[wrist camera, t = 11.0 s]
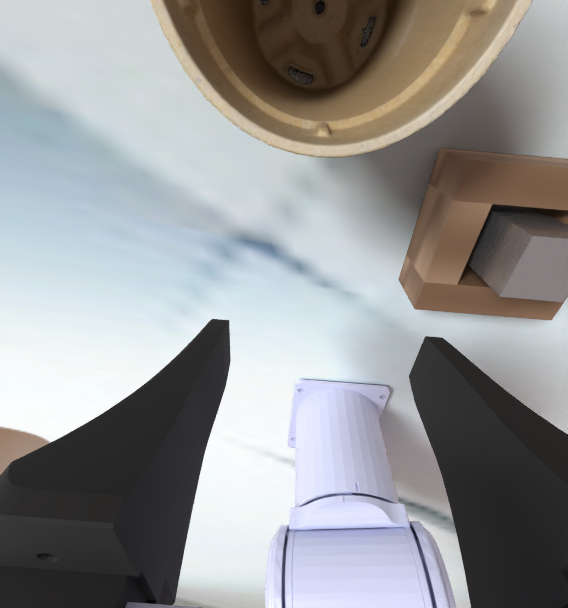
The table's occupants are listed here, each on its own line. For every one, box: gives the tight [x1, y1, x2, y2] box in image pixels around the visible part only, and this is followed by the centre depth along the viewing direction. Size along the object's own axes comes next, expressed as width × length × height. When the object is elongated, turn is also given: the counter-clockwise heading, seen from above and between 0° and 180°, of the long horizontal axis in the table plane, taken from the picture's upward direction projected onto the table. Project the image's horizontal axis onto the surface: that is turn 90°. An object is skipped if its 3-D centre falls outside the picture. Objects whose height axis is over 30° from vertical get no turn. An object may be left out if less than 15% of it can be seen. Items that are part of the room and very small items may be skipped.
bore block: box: [399, 148, 568, 320], centre depth 17 cm, size 8×8×4 cm
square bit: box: [467, 204, 568, 302], centre depth 16 cm, size 3×3×6 cm
